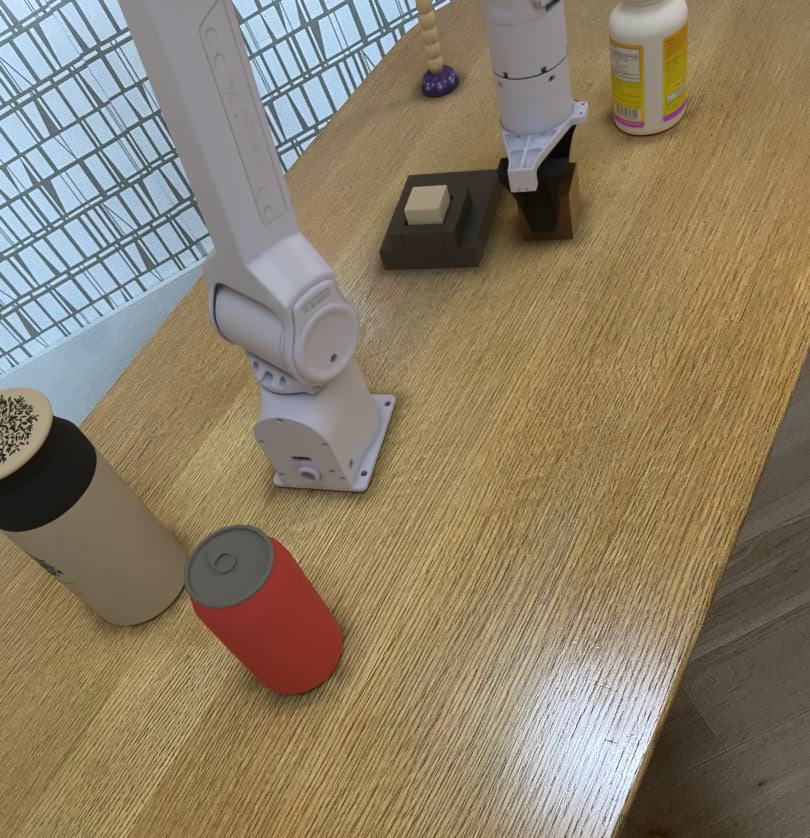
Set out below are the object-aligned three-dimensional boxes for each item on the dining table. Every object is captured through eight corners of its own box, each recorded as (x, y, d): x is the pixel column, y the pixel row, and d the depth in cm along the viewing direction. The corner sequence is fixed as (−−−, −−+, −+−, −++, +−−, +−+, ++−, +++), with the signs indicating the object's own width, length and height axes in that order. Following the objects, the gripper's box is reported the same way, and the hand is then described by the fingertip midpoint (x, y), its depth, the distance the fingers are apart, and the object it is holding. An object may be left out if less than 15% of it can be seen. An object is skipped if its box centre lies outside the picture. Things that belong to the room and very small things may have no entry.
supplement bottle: (682, 91, 81) (686, -56, 71) (688, 131, 78) (693, -18, 67) (611, 104, 83) (604, -38, 73) (614, 144, 79) (607, 0, 69)
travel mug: (167, 520, 68) (32, 362, 53) (206, 585, 63) (69, 432, 48) (82, 577, 67) (-80, 432, 52) (115, 647, 62) (-53, 510, 47)
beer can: (298, 595, 60) (229, 499, 51) (365, 639, 57) (304, 545, 47) (237, 666, 58) (152, 581, 49) (302, 716, 55) (225, 635, 45)
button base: (478, 268, 75) (470, 230, 72) (384, 271, 78) (372, 235, 75) (502, 188, 80) (495, 150, 77) (413, 194, 83) (403, 157, 80)
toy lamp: (470, 76, 92) (438, -99, 79) (449, 101, 91) (412, -73, 77) (433, 73, 94) (396, -97, 81) (412, 98, 93) (370, -72, 79)
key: (442, 225, 74) (438, 208, 72) (408, 226, 75) (403, 210, 73) (450, 201, 75) (446, 184, 74) (417, 203, 76) (412, 186, 75)
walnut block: (573, 239, 74) (568, 195, 70) (523, 241, 75) (515, 198, 72) (581, 206, 76) (576, 161, 72) (531, 209, 77) (525, 165, 74)
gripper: (567, 110, 59) (582, 265, 70) (596, -1, 66) (605, 156, 77) (470, 119, 61) (499, 268, 72) (507, 11, 68) (529, 162, 79)
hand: (549, 211), depth 74 cm, fingers closed on walnut block, 4 cm apart
